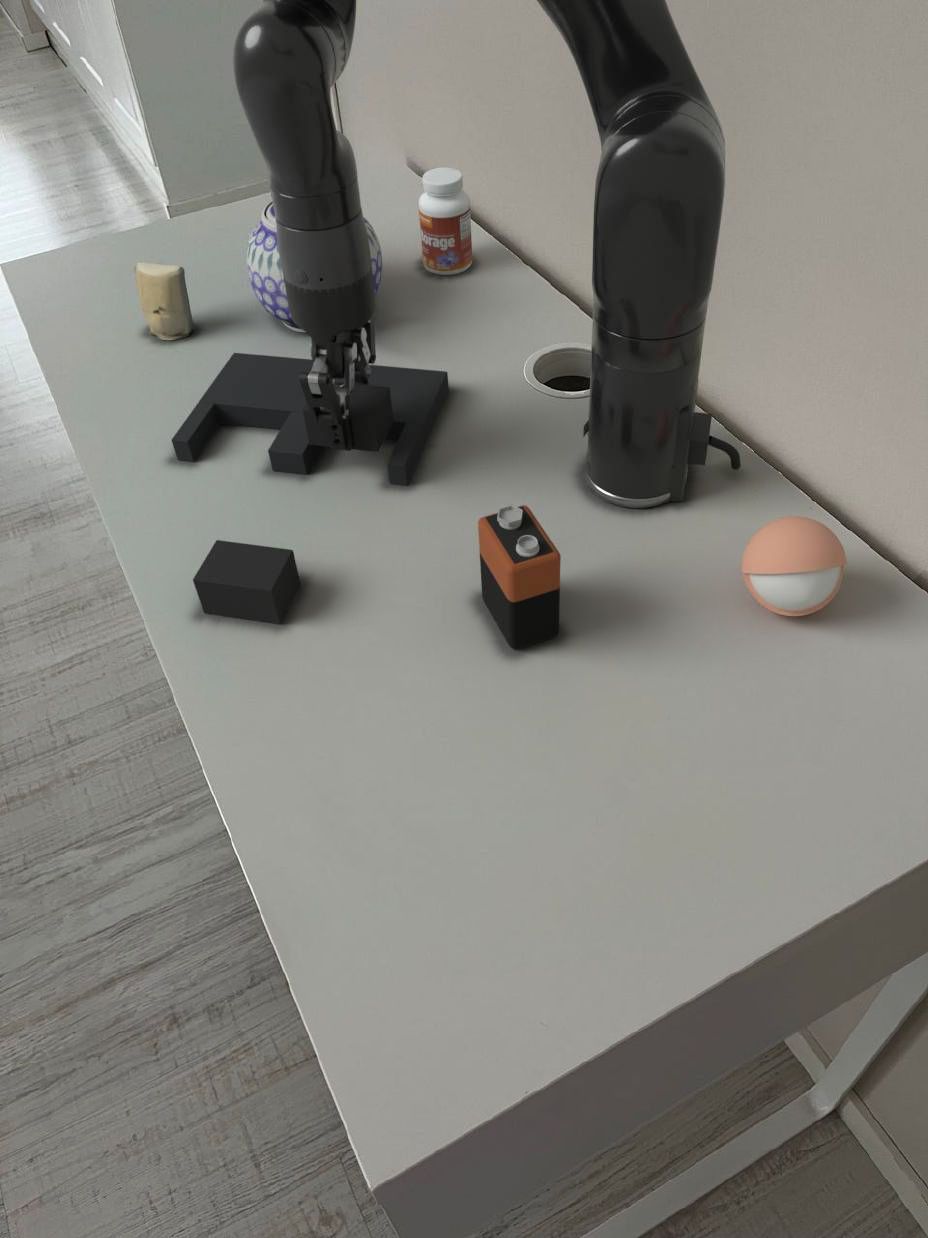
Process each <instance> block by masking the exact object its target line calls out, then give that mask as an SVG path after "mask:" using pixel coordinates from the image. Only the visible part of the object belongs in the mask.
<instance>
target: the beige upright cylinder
mask: <svg viewBox="0 0 928 1238" xmlns="http://www.w3.org/2000/svg"><path fill="white" fill-rule="evenodd" d="M133 272H134V274H135V279H136V290H137V296H138V301H139V305H140V308H141V311H142V313H143V317H144V319H145V322H146V324H147V325H148V327H149V334H150V335H152V336H156V337H157V338H158V340H162V341H174V340H177V339H180V338H187V337H191V335H192V334H193V333H194V331H195V326H194V324H195V323H194V320H193V315H192V310H191V305H190V298H189V293H188V287H187V283H186V275H185V274H186V273H185V268H184V267H183V266H181V265H171V264H163V263H155V262H154V263H153V262H147V261H141V262H138V263H136V264H135V265H134V267H133Z"/></svg>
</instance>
